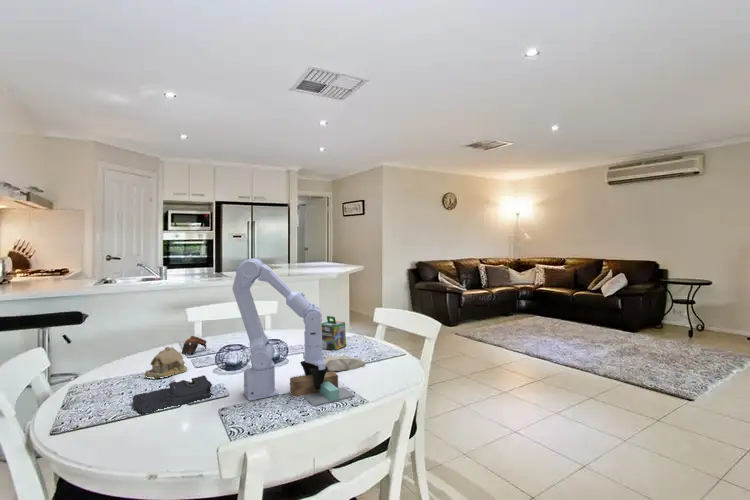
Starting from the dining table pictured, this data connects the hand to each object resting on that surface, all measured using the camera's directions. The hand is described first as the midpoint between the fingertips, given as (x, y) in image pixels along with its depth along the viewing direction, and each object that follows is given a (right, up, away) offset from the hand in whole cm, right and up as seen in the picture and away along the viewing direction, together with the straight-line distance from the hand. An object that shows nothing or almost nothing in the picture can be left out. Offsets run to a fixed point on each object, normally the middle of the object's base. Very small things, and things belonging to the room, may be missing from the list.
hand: (314, 385), depth 128 cm
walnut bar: (0, -2, 0) cm, 2 cm away
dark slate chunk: (-44, -3, -5) cm, 44 cm away
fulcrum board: (+6, -2, -5) cm, 8 cm away
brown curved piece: (-61, -1, +45) cm, 76 cm away
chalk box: (0, -1, +52) cm, 52 cm away
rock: (+5, -2, +24) cm, 25 cm away
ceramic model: (-58, -2, +18) cm, 61 cm away
